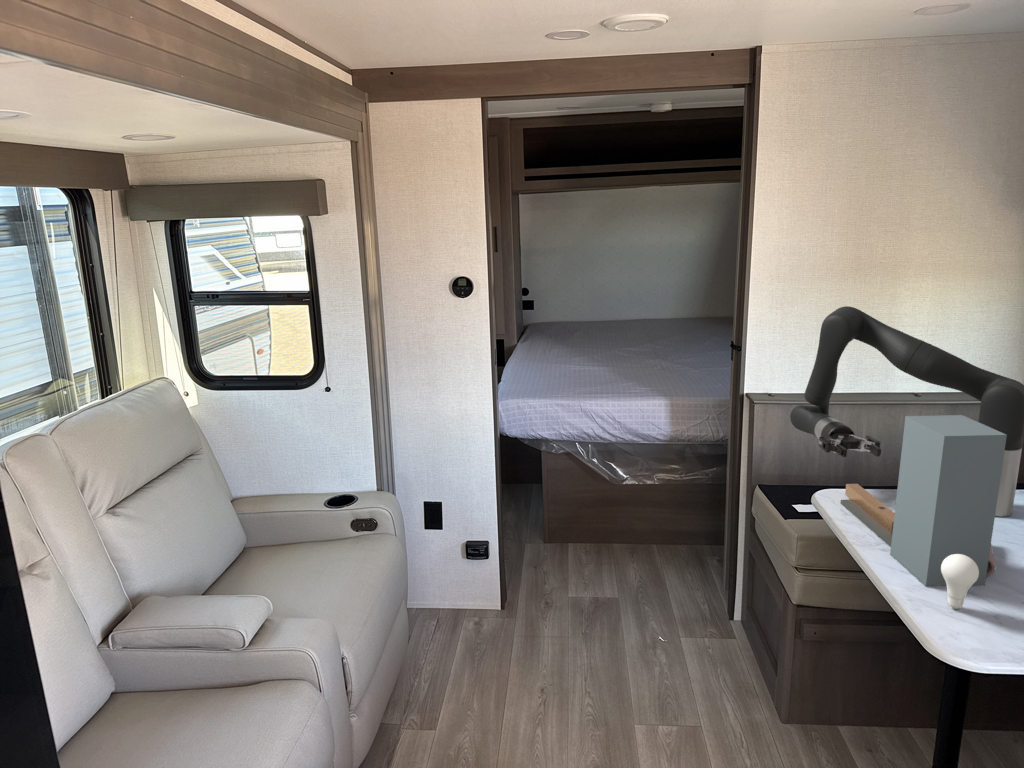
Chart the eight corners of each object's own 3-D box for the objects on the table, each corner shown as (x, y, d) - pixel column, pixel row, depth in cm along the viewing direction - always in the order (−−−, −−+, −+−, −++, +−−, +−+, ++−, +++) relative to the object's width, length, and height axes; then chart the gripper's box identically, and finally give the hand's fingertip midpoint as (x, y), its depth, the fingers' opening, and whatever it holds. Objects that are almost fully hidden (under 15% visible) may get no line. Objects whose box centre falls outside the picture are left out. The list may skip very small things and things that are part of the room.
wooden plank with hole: (845, 494, 191) (846, 483, 190) (856, 494, 191) (857, 483, 190) (891, 533, 167) (892, 521, 167) (903, 533, 167) (905, 521, 167)
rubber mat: (840, 503, 188) (840, 499, 187) (871, 502, 188) (871, 499, 187) (892, 548, 162) (892, 544, 162) (927, 547, 162) (927, 543, 162)
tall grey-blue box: (890, 554, 159) (905, 416, 152) (944, 553, 159) (962, 415, 152) (925, 586, 146) (944, 436, 138) (984, 585, 146) (1006, 434, 138)
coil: (998, 561, 147) (991, 527, 162) (971, 554, 149) (967, 521, 164) (992, 581, 148) (986, 546, 164) (966, 573, 151) (962, 540, 166)
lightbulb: (929, 600, 141) (935, 549, 138) (958, 598, 141) (965, 547, 138) (950, 617, 135) (957, 564, 132) (980, 615, 135) (988, 562, 133)
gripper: (809, 421, 198) (835, 439, 182) (860, 420, 198) (891, 438, 182) (807, 447, 200) (833, 467, 184) (858, 446, 200) (888, 466, 184)
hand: (862, 453), depth 183 cm, fingers open, 8 cm apart
